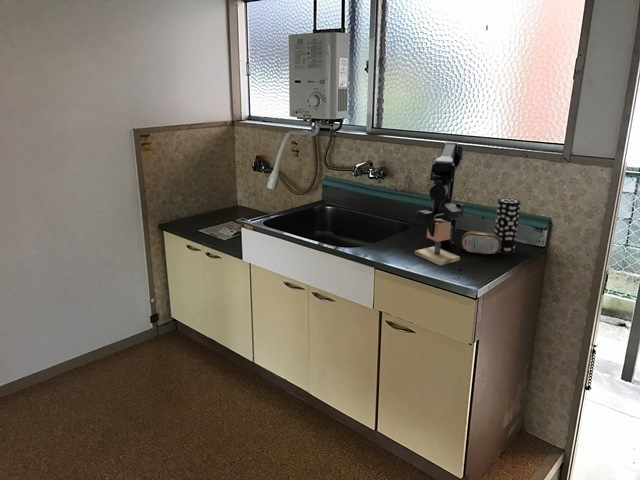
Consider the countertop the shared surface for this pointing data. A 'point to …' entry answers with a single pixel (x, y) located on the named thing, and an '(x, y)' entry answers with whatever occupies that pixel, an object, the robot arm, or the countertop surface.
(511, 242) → the spotted tube
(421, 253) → the post stand
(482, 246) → the tin
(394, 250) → the countertop surface
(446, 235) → the collar
